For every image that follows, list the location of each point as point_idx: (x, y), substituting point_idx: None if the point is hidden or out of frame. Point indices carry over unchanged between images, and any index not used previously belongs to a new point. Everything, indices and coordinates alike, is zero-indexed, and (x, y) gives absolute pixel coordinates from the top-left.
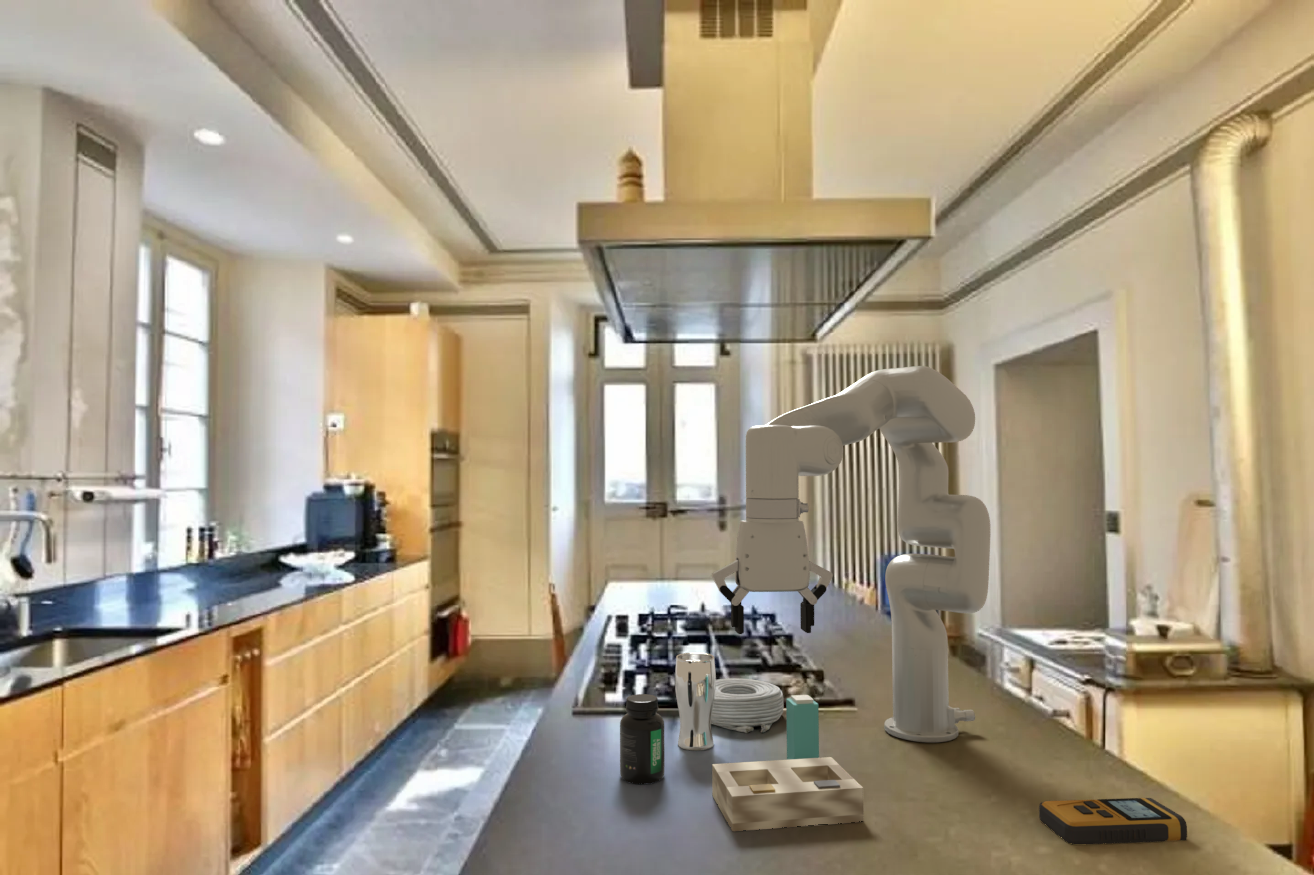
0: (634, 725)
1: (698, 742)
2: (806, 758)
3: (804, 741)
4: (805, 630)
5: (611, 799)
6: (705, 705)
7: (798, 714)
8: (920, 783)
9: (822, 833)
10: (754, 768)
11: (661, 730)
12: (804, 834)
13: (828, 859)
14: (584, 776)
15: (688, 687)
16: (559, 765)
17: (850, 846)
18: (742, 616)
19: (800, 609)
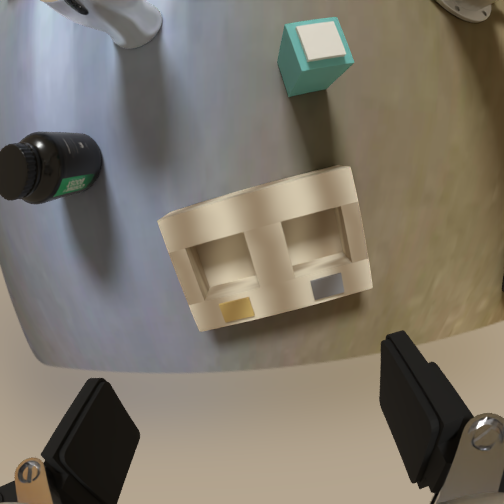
0: (29, 202)
1: (136, 42)
2: (310, 176)
3: (311, 84)
4: (381, 401)
5: (65, 239)
6: (124, 17)
7: (308, 74)
8: (445, 147)
9: None
10: (223, 232)
11: (64, 177)
12: None
13: (304, 355)
14: None
15: (79, 20)
16: None
17: (331, 329)
18: (121, 482)
19: (416, 398)
